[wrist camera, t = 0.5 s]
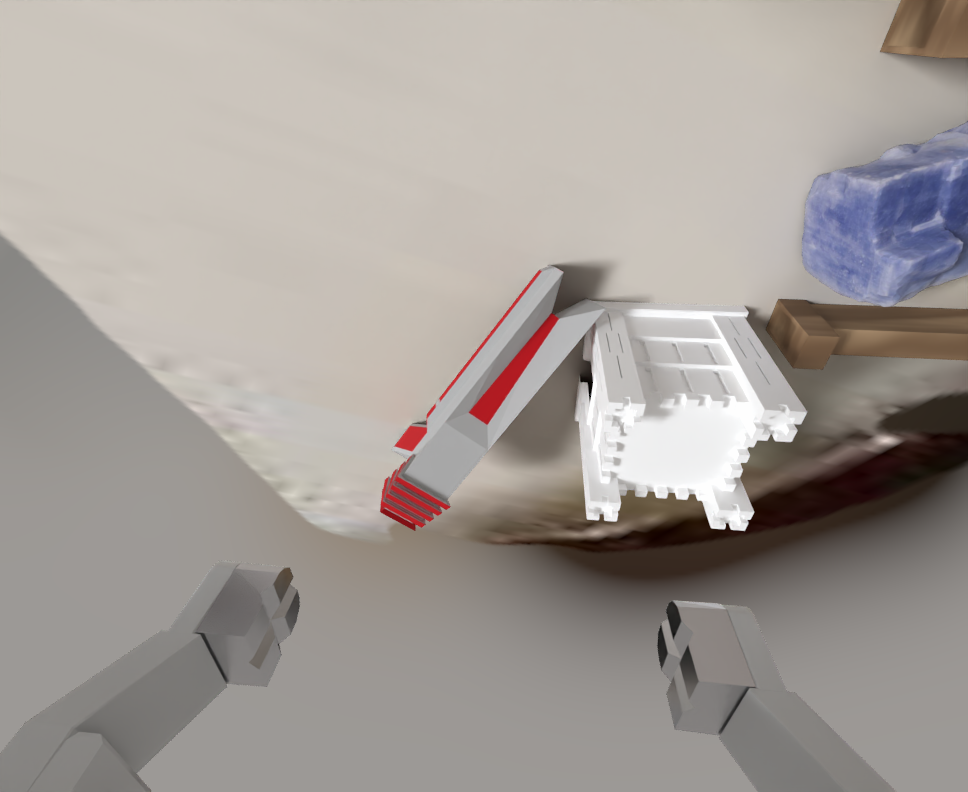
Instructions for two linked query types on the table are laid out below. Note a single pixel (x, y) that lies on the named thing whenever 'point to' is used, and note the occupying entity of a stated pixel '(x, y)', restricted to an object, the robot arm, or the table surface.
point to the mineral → (891, 222)
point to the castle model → (678, 406)
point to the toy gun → (484, 399)
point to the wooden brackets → (875, 329)
